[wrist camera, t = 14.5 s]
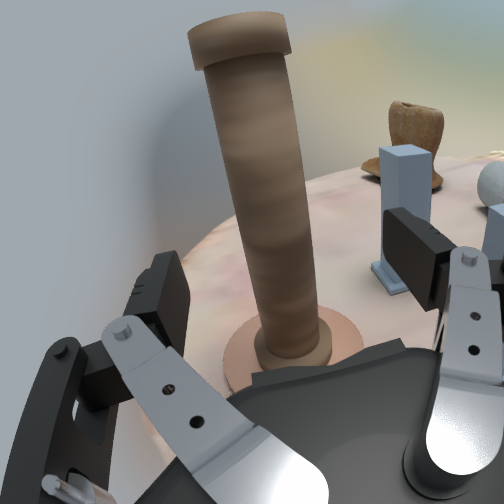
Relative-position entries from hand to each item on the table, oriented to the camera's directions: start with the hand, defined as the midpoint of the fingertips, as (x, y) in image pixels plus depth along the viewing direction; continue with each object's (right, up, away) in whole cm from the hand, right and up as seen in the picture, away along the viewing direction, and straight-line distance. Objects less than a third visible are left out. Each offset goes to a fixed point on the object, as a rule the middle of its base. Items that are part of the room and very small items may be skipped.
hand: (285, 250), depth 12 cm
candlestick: (+2, -8, +11) cm, 14 cm away
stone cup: (+28, +13, +40) cm, 50 cm away
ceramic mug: (+38, +5, +23) cm, 45 cm away
